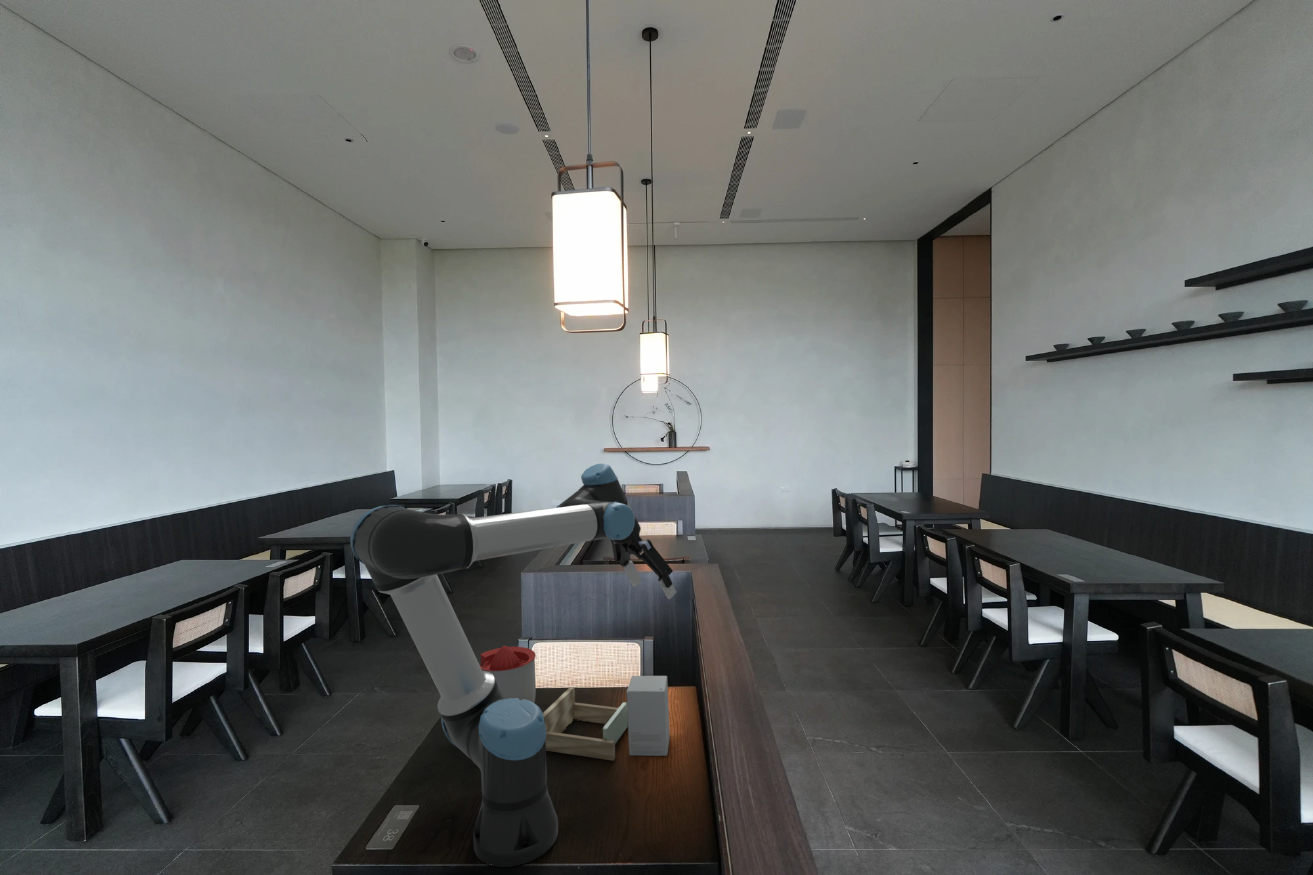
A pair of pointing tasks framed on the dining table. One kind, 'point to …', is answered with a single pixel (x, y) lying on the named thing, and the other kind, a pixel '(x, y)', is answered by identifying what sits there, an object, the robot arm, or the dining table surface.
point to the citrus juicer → (512, 671)
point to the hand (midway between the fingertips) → (654, 589)
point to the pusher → (616, 724)
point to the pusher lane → (556, 741)
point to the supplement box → (648, 716)
